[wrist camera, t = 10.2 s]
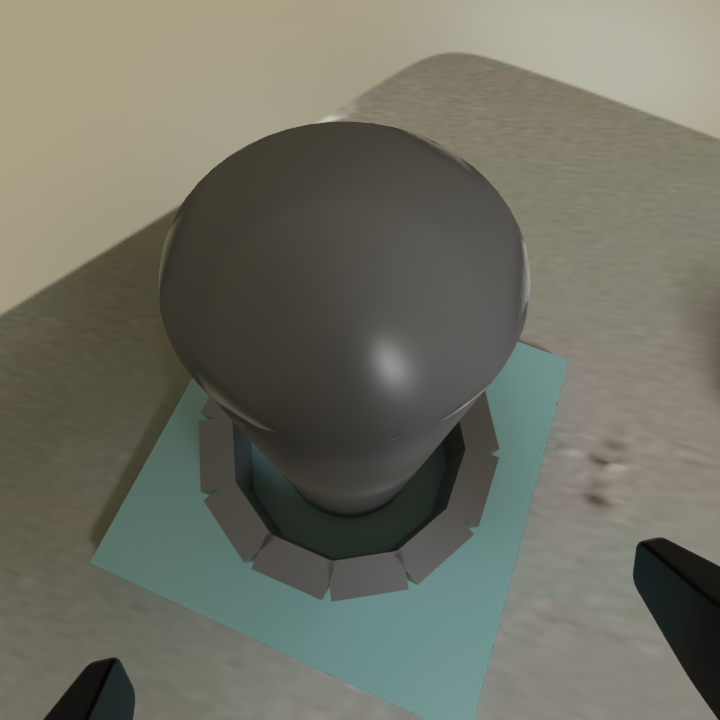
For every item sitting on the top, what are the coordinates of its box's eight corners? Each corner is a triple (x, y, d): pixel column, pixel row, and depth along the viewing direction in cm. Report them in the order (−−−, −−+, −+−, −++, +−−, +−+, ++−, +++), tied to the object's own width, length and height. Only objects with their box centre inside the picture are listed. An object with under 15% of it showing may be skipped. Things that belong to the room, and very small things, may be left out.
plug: (436, 467, 17) (608, 299, 6) (334, 545, 16) (292, 536, 5) (362, 371, 19) (381, 75, 7) (263, 439, 18) (93, 225, 6)
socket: (560, 366, 20) (606, 327, 16) (462, 730, 15) (496, 784, 12) (266, 260, 21) (249, 202, 18) (100, 562, 17) (34, 566, 13)
